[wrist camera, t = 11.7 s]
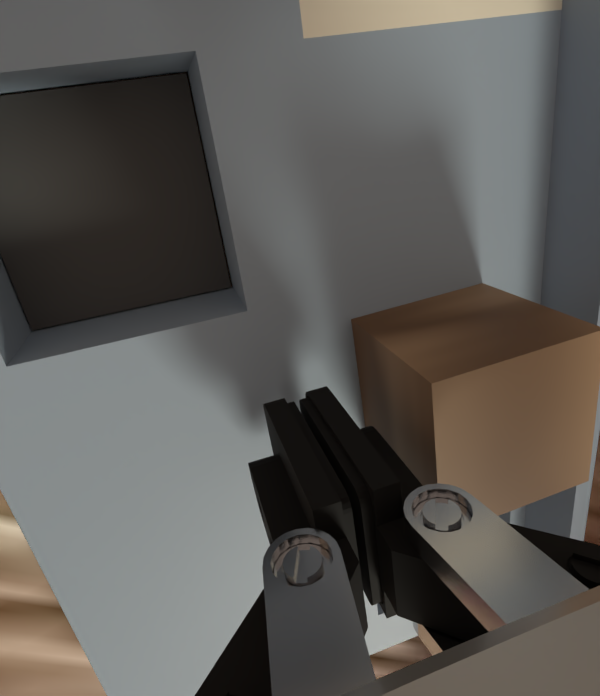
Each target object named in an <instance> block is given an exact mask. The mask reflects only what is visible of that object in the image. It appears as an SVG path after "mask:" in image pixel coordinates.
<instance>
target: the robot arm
mask: <svg viewBox="0 0 600 696" xmlns="http://www.w3.org/2000/svg"><path fill="white" fill-rule="evenodd" d="M305 397H306V398H303V399H300V400H299V404H300V410H301V412H300V410H299V409H298V407H297V405H296V404H295V402H294V401H293V402H289V403H287V401H286V400H285V398H282V399H279V400H275V401H272V402H268V403H265V404H263V408H264V413H265V418H266V422H267V427H268V432H269V436H270V441H271V446H272V450H273V456H269V457H266V458H263V459H259V460H256V461H253V462H250V463H248V466H249V470H250V474H251V479H252V483H253V487H254V491H255V495H256V498H257V502H258V506H259V510H260V513H261V517H262V520H263V524H264V527H265V530H266V533H267V537H268V540H269V543H270V546H269V547H268V549H267V551H266V553H265V555H264V557H263V566H262V570H263V583H264V589H263V590H262V592H261V593H260V595H259V597H258V598H257V600H256V601H255V603H254V604H253V606H252V607H251V609H250V611H249V612H248V614H247V615H246V617H245V618H244V620H243V621H242V623H241V625H240V626H239V628H238V629H237V631H236V632H235V634H234V635H233V637H232V638H231V640H230V642H229V643H228V645H227V646H226V648H225V649H224V651H223V652H222V654H221V656H220V657H219V659H218V660H217V662H216V663H215V665H214V666H213V668H212V669H211V671H210V673H209V674H208V676H207V677H206V679H205V680H204V682H203V683H202V685H201V687H200V688H199V690H198V691H197V693H196V694H195V696H600V546H598V545H596V544H592V543H588V542H584V541H580V540H576V539H572V538H568V537H563V536H559V535H555V534H551V533H547V532H543V531H539V530H534V529H530V528H526V527H522V526H518V525H514V524H510V523H506V522H505V521H504V520H502V519H501V518H500V517H499V516H497V515H496V514H495V513H494V512H492V511H491V510H490V509H489V508H487V507H486V506H485V505H484V504H482V503H481V502H480V501H479V500H477V499H476V498H475V497H474V496H472V495H471V494H470V493H468V492H466V491H465V490H463V489H462V488H459V487H456V486H453V485H449V484H441V483H437V484H427V485H424V486H423V485H422V484H421V483H420V482H419V480H418V479H417V478H416V477H415V476H414V474H413V473H412V472H411V471H410V469H409V468H408V467H407V466H406V465H405V463H404V462H403V461H402V460H401V459H400V457H399V456H398V455H397V454H396V453H395V451H394V450H393V449H392V448H391V446H390V445H389V444H388V443H387V442H386V440H385V439H384V438H383V437H382V436H381V434H380V433H379V432H378V431H377V430H376V429H375V428H374V427H373V426H368V427H364V428H361V429H360V428H359V427H358V426H357V424H356V423H355V422H354V421H353V419H352V418H351V417H350V415H349V414H348V413H347V411H346V410H345V409H344V408H343V406H342V405H341V404H340V402H339V401H338V400H337V398H336V397H335V396H334V394H333V393H332V392H331V391H330V389H329V388H328V387H327V386H325V387H322V388H318V389H314V390H311V391H307V392H306V393H305ZM363 591H364V593H365V595H366V597H367V599H368V601H369V603H370V604H371V605H372V606H373V605H375V604H378V603H379V604H380V606H381V608H382V610H383V612H384V614H385V616H386V618H390V617H392V616H395V615H397V616H399V617H402V618H405V619H407V620H410V621H412V622H413V627H414V629H415V631H416V633H417V635H418V636H419V638H420V639H421V641H422V642H423V643H424V645H425V646H426V647H427V649H428V650H429V651H430V653H431V654H432V655H433V656H431V657H429V658H426V659H424V660H422V661H419V662H417V663H414V664H412V665H410V666H407V667H405V668H403V669H400V670H398V671H396V672H393V673H391V674H389V675H386V676H384V677H382V678H379V679H377V680H376V678H375V674H374V671H373V667H372V663H371V660H370V656H369V652H368V649H367V645H366V641H365V638H364V637H365V634H366V632H367V629H368V622H367V615H366V608H365V600H364V593H363Z"/></svg>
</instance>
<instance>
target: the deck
mask: <svg viewBox="0 0 600 696" xmlns="http://www.w3.org/2000/svg"><path fill="white" fill-rule="evenodd" d="M184 72H187V73H188V78H189V83H190V87H191V92H192V97H193V102H194V106H195V111H196V116H197V121H198V125H199V130H200V135H201V140H202V145H203V149H204V154H205V159H206V164H207V168H208V173H209V178H210V183H211V187H212V192H213V197H214V202H215V206H216V211H217V216H218V221H219V225H220V230H221V235H222V240H223V245H224V249H225V254H226V259H227V264H228V268H229V273H230V278H231V283H232V287H231V283H230V278H229V273H228V269H227V264H226V259H225V255H224V250H223V245H222V240H221V236H220V231H219V226H218V221H217V217H216V212H215V207H214V202H213V198H212V193H211V188H210V183H209V179H208V174H207V169H206V164H205V160H204V155H203V150H202V146H201V141H200V136H199V131H198V127H197V122H196V117H195V112H194V108H193V103H192V98H191V93H190V89H189V84H188V79H187V74H186V73H184ZM175 73H184V74H176V75H168V76H160V77H151V78H143V79H135V80H127V81H119V82H110V83H102V84H94V85H86V86H77V87H69V88H61V89H53V90H45V91H36V92H28V93H20V94H12V95H3V96H0V490H1V492H2V494H3V496H4V498H5V499H6V501H7V503H8V505H9V507H10V509H11V511H12V513H13V515H14V517H15V519H16V521H17V523H18V525H19V526H20V528H21V530H22V532H23V534H24V536H25V538H26V540H27V542H28V544H29V546H30V548H31V550H32V552H33V554H34V555H35V557H36V559H37V561H38V563H39V565H40V567H41V569H42V571H43V573H44V575H45V577H46V579H47V581H48V582H49V584H50V586H51V588H52V590H53V592H54V594H55V596H56V598H57V600H58V602H59V604H60V606H61V608H62V610H63V611H64V613H65V615H66V617H67V619H68V621H69V623H70V625H71V627H72V629H73V631H74V633H75V635H76V637H77V638H78V640H79V642H80V644H81V646H82V648H83V650H84V652H85V654H86V656H87V658H88V660H89V662H90V664H91V666H92V667H93V669H94V671H95V673H96V675H97V677H98V679H99V681H100V683H101V685H102V687H103V689H104V691H105V693H106V694H107V696H195V694H196V693H197V691H198V690H199V688H200V687H201V685H202V683H203V682H204V680H205V679H206V677H207V676H208V674H209V673H210V671H211V669H212V668H213V666H214V665H215V663H216V662H217V660H218V659H219V657H220V656H221V654H222V652H223V651H224V649H225V648H226V646H227V645H228V643H229V642H230V640H231V638H232V637H233V635H234V634H235V632H236V631H237V629H238V628H239V626H240V625H241V623H242V621H243V620H244V618H245V617H246V615H247V614H248V612H249V611H250V609H251V607H252V606H253V604H254V603H255V601H256V600H257V598H258V597H259V595H260V593H261V592H262V590H263V589H264V583H263V570H262V566H263V557H264V555H265V553H266V551H267V549H268V547H269V546H270V543H269V540H268V537H267V533H266V530H265V527H264V524H263V520H262V517H261V513H260V510H259V506H258V502H257V498H256V495H255V491H254V487H253V483H252V479H251V474H250V470H249V466H248V463H250V462H253V461H256V460H259V459H263V458H266V457H269V456H273V450H272V446H271V441H270V436H269V432H268V427H267V422H266V418H265V413H264V408H263V404H265V403H268V402H272V401H275V400H279V399H282V398H285V400H286V401H287V403H289V402H293V401H294V402H295V404H296V405H297V407H298V409H299V410H300V404H299V400H300V399H303V398H306V397H305V393H306V392H307V391H311V390H314V389H318V388H322V387H325V386H327V387H328V388H329V389H330V391H331V392H332V393H333V394H334V396H335V397H336V398H337V400H338V401H339V402H340V404H341V405H342V406H343V408H344V409H345V410H346V411H347V413H348V414H349V415H350V417H351V418H352V419H353V421H354V422H355V423H356V424H357V426H358V427H359V428H360V429H361V428H364V427H365V421H364V414H363V406H362V399H361V391H360V384H359V376H358V368H357V361H356V353H355V346H354V338H353V331H352V323H351V319H353V318H357V317H361V316H364V315H368V314H372V313H375V312H379V311H383V310H386V309H390V308H393V307H397V306H401V305H404V304H408V303H412V302H415V301H419V300H423V299H426V298H430V297H434V296H437V295H441V294H444V293H448V292H452V291H455V290H459V289H463V288H466V287H470V286H474V285H477V284H481V283H484V284H486V285H489V286H492V287H495V288H497V289H500V290H503V291H505V292H508V293H511V294H513V295H516V296H519V297H521V298H524V299H527V300H530V301H532V302H535V303H538V304H540V305H543V306H546V307H548V308H551V309H554V310H556V311H559V312H562V313H564V314H567V315H570V316H573V317H575V318H578V319H581V320H583V321H586V322H589V323H591V324H594V325H597V326H599V327H600V0H0V95H2V94H10V93H18V92H27V91H35V90H43V89H51V88H60V87H68V86H76V85H84V84H93V83H101V82H109V81H117V80H126V79H134V78H142V77H150V76H159V75H167V74H175ZM300 412H301V410H300ZM599 432H600V384H599V393H598V402H597V411H596V420H595V429H594V437H593V446H592V455H591V464H590V473H589V481H587V482H585V483H582V484H579V485H577V486H574V487H572V488H569V489H567V490H564V491H561V492H559V493H556V494H554V495H551V496H548V497H546V498H543V499H541V500H538V501H536V502H533V503H530V504H528V505H525V506H523V507H520V508H518V509H515V510H512V511H510V512H507V513H505V514H502V515H499V517H500V518H501V519H502V520H504V521H505V522H506V523H510V524H514V525H518V526H522V527H526V528H530V529H534V530H539V531H543V532H547V533H551V534H555V535H559V536H563V537H568V538H572V539H576V540H580V541H584V536H585V529H586V522H587V515H588V508H589V501H590V494H591V487H592V480H593V474H594V467H595V460H596V453H597V446H598V439H599ZM363 593H364V591H363ZM364 600H365V608H366V615H367V622H368V629H367V632H366V634H365V637H364V638H365V641H366V645H367V649H368V652H369V655H372V654H374V653H377V652H379V651H382V650H384V649H387V648H389V647H391V646H394V645H396V644H399V643H401V642H404V641H406V640H409V639H411V638H414V637H416V636H418V635H417V633H416V631H415V629H414V627H413V622H412V621H410V620H407V619H405V618H402V617H399V616H397V615H395V616H392V617H390V618H386V616H385V614H384V612H383V610H382V608H381V606H380V604H379V603H378V604H375V605H373V606H372V605H371V604H370V603H369V601H368V599H367V597H366V595H365V593H364Z"/></svg>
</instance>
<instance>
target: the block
mask: <svg viewBox="0 0 600 696" xmlns="http://www.w3.org/2000/svg"><path fill="white" fill-rule="evenodd" d="M351 323H352V331H353V338H354V346H355V353H356V361H357V368H358V376H359V384H360V391H361V399H362V406H363V414H364V421H365V427H368V426H373V427H374V428H375V429H376V430H377V431H378V432H379V433H380V434H381V436H382V437H383V438H384V439H385V440H386V442H387V443H388V444H389V445H390V446H391V448H392V449H393V450H394V451H395V453H396V454H397V455H398V456H399V457H400V459H401V460H402V461H403V462H404V463H405V465H406V466H407V467H408V468H409V469H410V471H411V472H412V473H413V474H414V476H415V477H416V478H417V479H418V480H419V482H420V483H421V484H422V485H423V486H424V485H427V484H437V483H441V484H449V485H453V486H456V487H459V488H462V489H463V490H465V491H466V492H468V493H470V494H471V495H472V496H474V497H475V498H476V499H477V500H479V501H480V502H481V503H482V504H484V505H485V506H486V507H487V508H489V509H490V510H491V511H492V512H494V513H495V514H496V515H497V516H499V515H502V514H505V513H507V512H510V511H512V510H515V509H518V508H520V507H523V506H525V505H528V504H530V503H533V502H536V501H538V500H541V499H543V498H546V497H548V496H551V495H554V494H556V493H559V492H561V491H564V490H567V489H569V488H572V487H574V486H577V485H579V484H582V483H585V482H587V481H589V473H590V464H591V455H592V446H593V437H594V429H595V420H596V411H597V402H598V393H599V384H600V327H599V326H597V325H594V324H591V323H589V322H586V321H583V320H581V319H578V318H575V317H573V316H570V315H567V314H564V313H562V312H559V311H556V310H554V309H551V308H548V307H546V306H543V305H540V304H538V303H535V302H532V301H530V300H527V299H524V298H521V297H519V296H516V295H513V294H511V293H508V292H505V291H503V290H500V289H497V288H495V287H492V286H489V285H486V284H484V283H481V284H477V285H474V286H470V287H466V288H463V289H459V290H455V291H452V292H448V293H444V294H441V295H437V296H434V297H430V298H426V299H423V300H419V301H415V302H412V303H408V304H404V305H401V306H397V307H393V308H390V309H386V310H383V311H379V312H375V313H372V314H368V315H364V316H361V317H357V318H353V319H351Z"/></svg>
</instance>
